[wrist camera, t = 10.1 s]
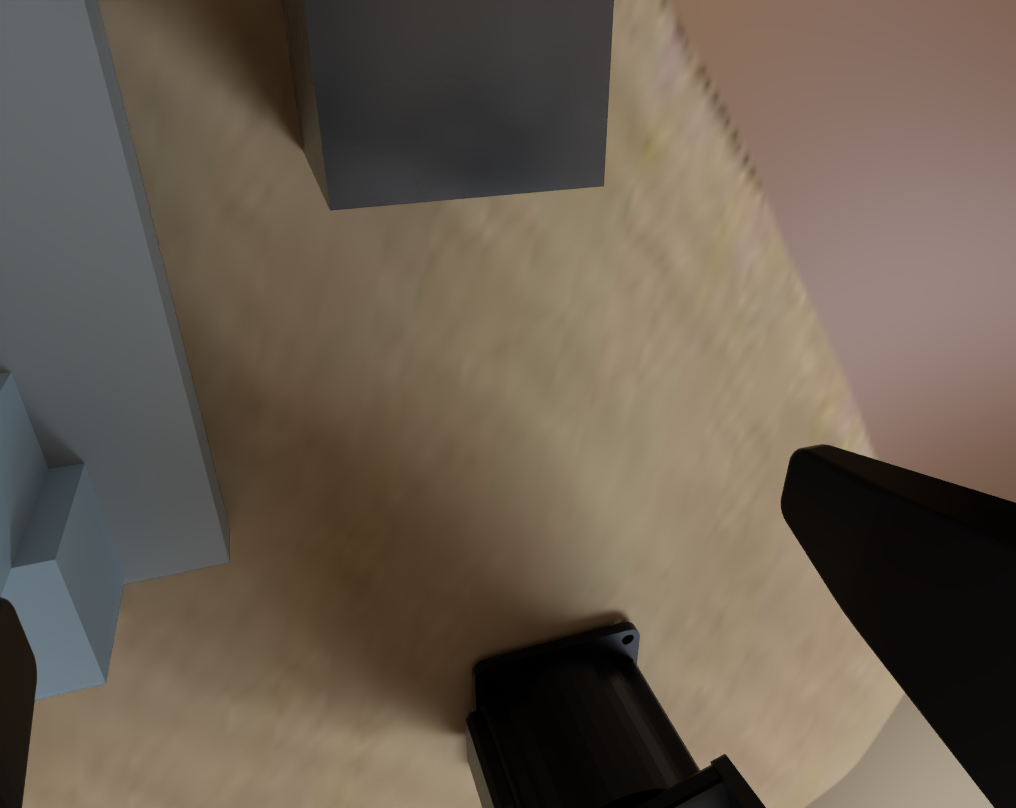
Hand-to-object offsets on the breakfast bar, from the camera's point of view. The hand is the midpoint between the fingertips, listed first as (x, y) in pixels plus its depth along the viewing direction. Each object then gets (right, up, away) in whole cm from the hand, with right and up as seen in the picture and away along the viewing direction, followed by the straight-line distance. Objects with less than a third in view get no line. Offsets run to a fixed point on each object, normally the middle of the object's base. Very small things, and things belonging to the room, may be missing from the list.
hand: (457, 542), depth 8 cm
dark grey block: (-2, +9, +8) cm, 13 cm away
